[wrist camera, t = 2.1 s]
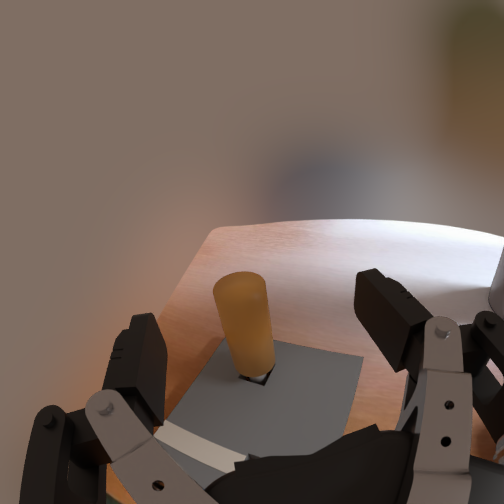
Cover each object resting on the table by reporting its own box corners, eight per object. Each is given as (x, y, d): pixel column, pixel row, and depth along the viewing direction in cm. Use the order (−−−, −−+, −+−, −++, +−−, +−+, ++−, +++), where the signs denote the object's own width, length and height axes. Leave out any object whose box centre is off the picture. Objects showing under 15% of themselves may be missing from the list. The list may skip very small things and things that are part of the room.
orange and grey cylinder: (250, 362, 33) (228, 268, 26) (283, 371, 31) (273, 275, 24) (233, 389, 30) (203, 298, 23) (269, 400, 28) (251, 309, 21)
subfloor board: (233, 339, 37) (230, 328, 36) (361, 367, 30) (363, 356, 29) (147, 461, 22) (138, 455, 21) (303, 529, 15) (304, 528, 14)
